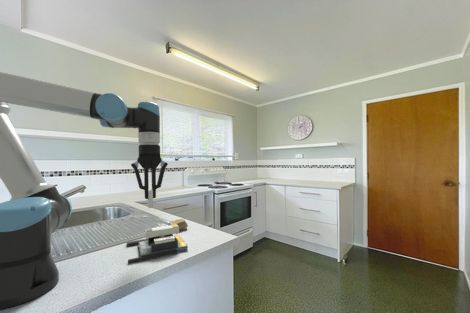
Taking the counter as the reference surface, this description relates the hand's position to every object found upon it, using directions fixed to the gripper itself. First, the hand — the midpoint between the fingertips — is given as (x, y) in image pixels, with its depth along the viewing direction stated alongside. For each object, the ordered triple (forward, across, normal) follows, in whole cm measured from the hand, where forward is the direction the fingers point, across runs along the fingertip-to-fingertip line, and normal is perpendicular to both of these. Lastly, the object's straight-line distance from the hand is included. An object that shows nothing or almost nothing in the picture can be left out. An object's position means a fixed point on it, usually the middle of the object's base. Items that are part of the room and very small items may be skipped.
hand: (150, 207), depth 80 cm
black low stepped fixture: (+16, +1, +2) cm, 16 cm away
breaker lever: (+10, +4, 0) cm, 11 cm away
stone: (+17, +14, +21) cm, 30 cm away
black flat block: (+16, +4, 0) cm, 17 cm away
